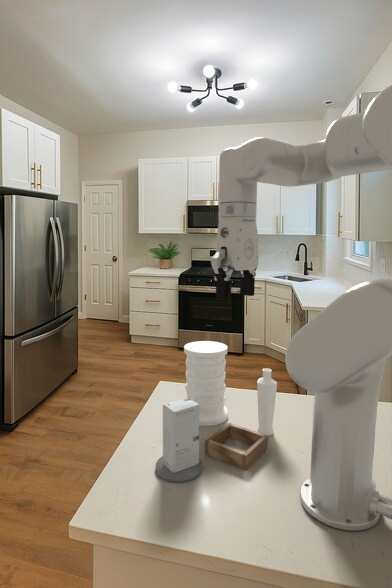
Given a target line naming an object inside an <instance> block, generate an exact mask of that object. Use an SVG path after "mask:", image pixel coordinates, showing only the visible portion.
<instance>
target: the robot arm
mask: <svg viewBox="0 0 392 588" xmlns="http://www.w3.org/2000/svg"><path fill="white" fill-rule="evenodd" d="M218 163H219V165H218V167H219V168H218V174H219V175H218V225H217V234H216V241H215V242H216V244H215V248H216V249H215V254H214V255H213V256H212V257H211V258H210V264H211V267H212V273H213V275H214V276H213V277H214V281H215V300H216V301H217V302H218V301H219V302H226V303H227V302H228V303H229V302H231V301H232V280H230V279H231V277H232V274H233V272H234V270H235V271H237V272H238V271H239V272H240V274H241V276H240V283H239V286H240V287H239V293H240V295H241V296H246V297H247V296H248V297H253V296H255V284H256V283H255V280H256V279H255V278H256V276H257V273H256V272H257V269H258V266H259V235H258V226H257V202H258V198H257V197H258V183H261V184H267V185H276V186H281V187H299V186H300V187H301V186H309V185H316V184H322V183H327V182H331V181H335V180H338V179H340V178H343V177H348V176H353V175H361V174H367V173H369V174H370V173H376V172H383V171H390V170H391V171H392V84H391V85H389V86H387V87H385V88H384V89H383V90H381V91H380V92H379V93H377V95H375V97H373V99H372V100H371V102H370V103H369V104H368V106H367V108H366V109H365V111H363V112H358V113H353V114H349V115H346V116H342V117H339V118H337V119H336V120H334V121H333V122H332V123H331V124H330V126H329V127H328V129H327V131H326V134H325V139H323V140H319V141H317V142H311V143H307V144H301V145H293V144H291V143H287V142H283V141H279V140H276V139H275V140H274V139H272V138H268V137H262V136H260V137H254V138H252V139H249V140H248V141H246V142H244V143H242V144H241V145H239V146H235V147H234V146H233V147H228V148H226V149H224V150H223V151H221V152H220V155H219V162H218ZM391 356H392V276H388V277H383V278H376V279H370V280H366V281H364V282H360V283H358V284H356V285H354V286H352V287H350V288H349V289H347V290H346V291H343V293H341V294H340V295H339V296H338V297H337V298H335V299H334V300H333V301H332V302H331V303H329V304H328V305H327V306H326V307H324V308H323V309H322V310H321V311H320V312H318V313H317V314H316V315H315V316H314V317H313V318H312V319H310V320H309V321H308V322H307V323H306V324H304V325H303V326H302V327H301V328H300V329H299V330H297V331H296V333H294V334H293V336H292V337H291V339H290V341H289V342H288V345H287V347H286V351H285V367H286V370H287V372H288V374H289V376H290V378H291V379H292V381H293V382H294V383H296V385H298V386H299V387H301V388H302V389H303V390H306V391H308V392H311V393H314V401H313V412H312V413H313V415H312V432H311V433H312V436H311V453H310V454H311V456H310V457H311V458H310V477H309V478H308V479H305V481H303V482H302V485H301V486H300V489H299V499H300V502H301V505H302V507H303V508H304V509H305V511H306V512H307V513H308V514H310V515H311V517H313V518H314V519H316V520H318V522H321V523H322V524H325V525H327V526H329V527H332V528H335V529H340V530H343V531H350V532H351V531H363V530H368V529H370V528H373V526H375V525H376V524H377V523H378V521H379V520H380V516H383V517H386V518H387V519H389V520H392V497H391V496H388V495H383V494H381V493H380V491H377V490H376V488H377V481H375V480H373V468H374V467H373V466H374V465H373V464H374V457H375V455H374V452H375V442H376V439H375V438H376V426H377V425H376V424H377V418H378V417H377V416H378V407H379V406H378V403H379V396H380V392H381V391H380V389H381V386H382V385H381V384H382V380H383V376H384V373H385V368H386V364H387V363H386V361H387V358H388V357H391Z"/></svg>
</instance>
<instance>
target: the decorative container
mask: <svg viewBox="0 0 392 588" xmlns="http://www.w3.org/2000/svg"><path fill="white" fill-rule="evenodd" d="M228 347H229V346H228V345H226V344H225V343H223V342H218V341H211V340H201V341H200V340H199V341H192V342H188V343H185V344H184V346H183V352H184V355H186V359H185V367H186V371H185V374H184V375H185V379H186V383H185V385H184V386H185V387H184V388H185V391H186V394H185V398H184V399H187V398H189V399H190V400H192V401H194V402H196V403H197V404H199V427H211V426H212V427H213V426H217V425H219V424H223V423H224V422H226V421H227V419H228V418H229V410H228V408H227V407H226V406H225V404H226V396H225V392H226V387H227V386H226V384H225V380H226V376H227V373H226V371H225V369H226V365H227V361H226V356H227V354H228V350H229V349H228Z"/></svg>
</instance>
